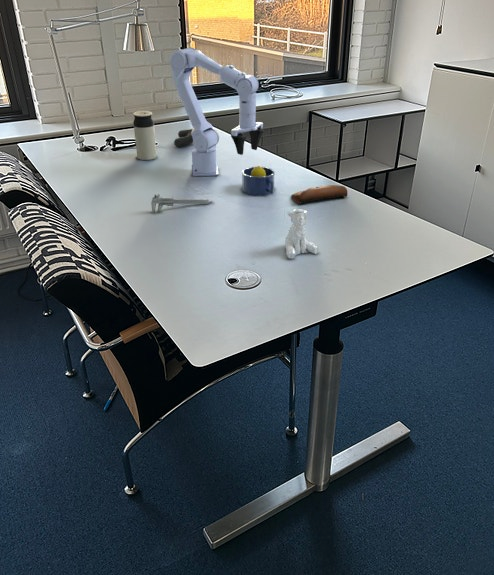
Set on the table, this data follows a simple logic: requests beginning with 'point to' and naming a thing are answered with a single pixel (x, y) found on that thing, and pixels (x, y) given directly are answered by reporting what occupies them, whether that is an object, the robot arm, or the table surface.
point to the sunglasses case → (319, 193)
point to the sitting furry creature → (298, 235)
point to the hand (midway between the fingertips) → (247, 151)
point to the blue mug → (258, 182)
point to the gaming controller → (184, 138)
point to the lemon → (258, 172)
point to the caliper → (174, 202)
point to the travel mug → (144, 135)
